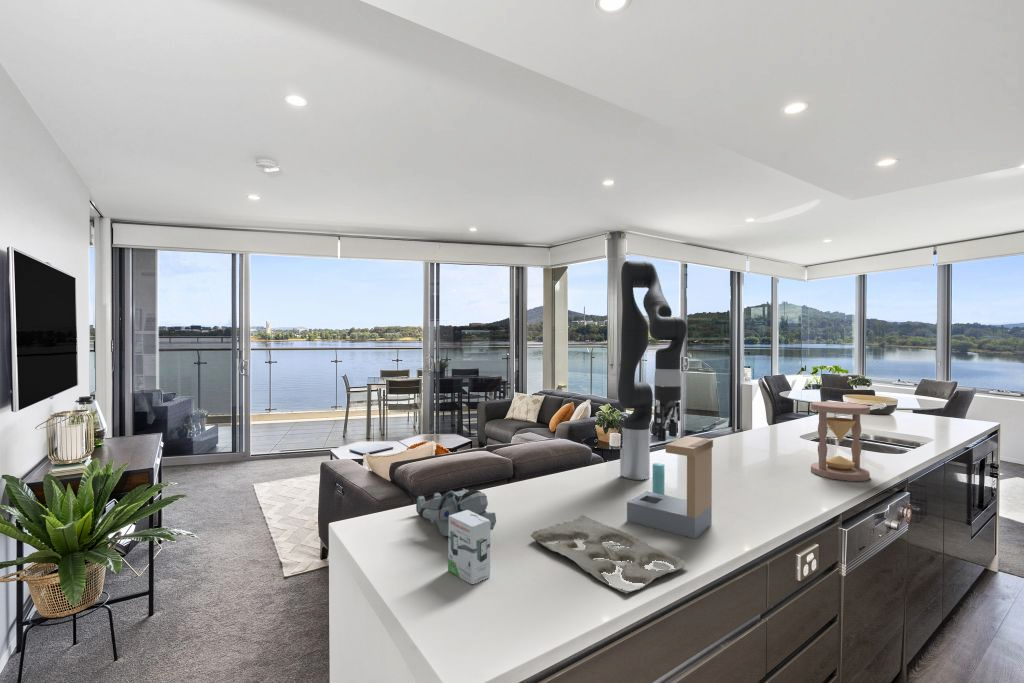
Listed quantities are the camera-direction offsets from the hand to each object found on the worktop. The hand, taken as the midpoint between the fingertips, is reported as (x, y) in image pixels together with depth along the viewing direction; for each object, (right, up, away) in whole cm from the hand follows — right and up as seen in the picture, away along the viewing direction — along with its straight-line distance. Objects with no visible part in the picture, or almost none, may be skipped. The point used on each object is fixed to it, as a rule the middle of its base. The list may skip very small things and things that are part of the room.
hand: (667, 438), depth 145 cm
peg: (-3, -19, 0) cm, 19 cm away
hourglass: (+71, -19, +30) cm, 79 cm away
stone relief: (-26, -20, -35) cm, 48 cm away
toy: (-61, -19, -20) cm, 68 cm away
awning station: (-5, -19, -16) cm, 25 cm away
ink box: (-55, -19, -45) cm, 73 cm away
